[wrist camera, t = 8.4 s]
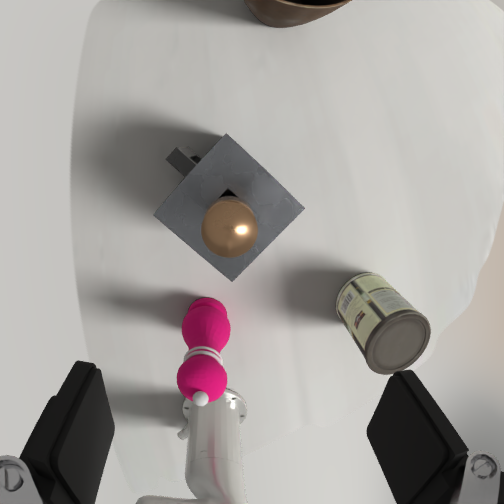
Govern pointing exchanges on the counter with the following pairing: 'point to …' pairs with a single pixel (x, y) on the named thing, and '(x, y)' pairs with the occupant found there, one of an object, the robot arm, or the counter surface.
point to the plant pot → (292, 11)
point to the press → (212, 187)
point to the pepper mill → (204, 352)
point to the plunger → (229, 226)
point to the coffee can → (382, 323)
